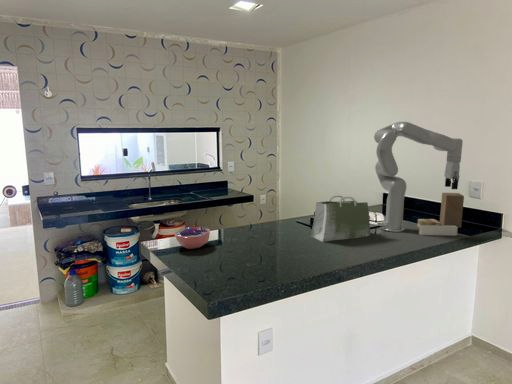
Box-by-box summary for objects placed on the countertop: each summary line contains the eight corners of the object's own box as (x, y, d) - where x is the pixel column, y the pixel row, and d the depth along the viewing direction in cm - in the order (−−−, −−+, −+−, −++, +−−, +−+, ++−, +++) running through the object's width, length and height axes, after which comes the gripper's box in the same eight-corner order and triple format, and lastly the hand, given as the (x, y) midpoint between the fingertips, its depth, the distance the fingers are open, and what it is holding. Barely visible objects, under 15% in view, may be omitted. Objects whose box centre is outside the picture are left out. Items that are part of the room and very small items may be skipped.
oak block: (423, 230, 226) (423, 222, 225) (417, 226, 235) (417, 219, 234) (440, 230, 226) (440, 222, 225) (433, 227, 235) (434, 219, 234)
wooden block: (461, 228, 231) (464, 195, 228) (443, 227, 233) (446, 195, 230) (456, 224, 241) (459, 193, 238) (439, 223, 243) (441, 192, 240)
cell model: (218, 244, 198) (218, 223, 196) (193, 255, 181) (193, 232, 179) (193, 239, 207) (192, 219, 205) (167, 249, 190) (166, 227, 188)
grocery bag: (355, 230, 227) (357, 191, 223) (371, 236, 214) (373, 195, 210) (309, 235, 215) (310, 195, 211) (322, 242, 202) (324, 199, 198)
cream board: (420, 234, 216) (421, 226, 215) (418, 233, 219) (419, 225, 218) (456, 235, 215) (457, 227, 214) (454, 234, 218) (455, 225, 217)
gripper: (441, 158, 234) (439, 185, 237) (453, 160, 217) (450, 190, 220) (454, 158, 234) (451, 185, 236) (466, 160, 217) (463, 190, 219)
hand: (450, 187), depth 228 cm, fingers open, 9 cm apart
